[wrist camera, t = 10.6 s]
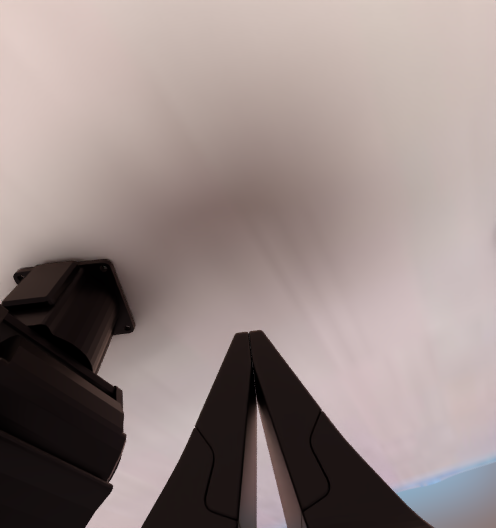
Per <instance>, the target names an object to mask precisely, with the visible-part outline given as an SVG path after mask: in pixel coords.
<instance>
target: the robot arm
mask: <svg viewBox="0 0 496 528" xmlns="http://www.w3.org/2000/svg"><path fill="white" fill-rule="evenodd" d="M102 266H106V267H107V269H104V268H103V267H102ZM21 275H22V276H24V277H25V278H23V277H22V276H21ZM13 277H14V280H15V282H16V283H17V286H16V287H15V288H14V290H13V291H12V292H11V293H10V294H9V295H8V296H7V297H6V298H5V299H4V300H3V301H2V303H1V305H0V528H85V527H86V525H87V524H88V522H89V521H90V519H91V518H92V516H93V514H94V513H95V511H96V510H97V509H98V508H99V506H100V505H101V504H102V503H103V502H104V500H105V499H106V498H107V497H108V495H109V494H110V493H111V491H112V489H113V485H112V484H110V483H109V481H110V480H111V478H112V477H113V475H114V473H115V471H116V469H117V467H118V464H119V462H120V459H121V456H122V452H123V449H124V446H125V443H126V434H125V433H123V421H124V412H123V393H122V390H121V389H120V388H118V387H117V386H112V385H111V384H109V383H108V382H106V381H105V380H104V379H102V378H101V377H99V376H98V375H97V373H98V371H99V368H100V366H101V363H102V361H103V358H104V356H105V353H106V351H107V349H108V346H109V344H110V341H111V339H112V336H113V335H118V334H126V333H131V332H133V331H134V328H135V323H134V320H133V317H132V315H131V312H130V309H129V307H128V304H127V301H126V299H125V296H124V294H123V291H122V288H121V286H120V283H119V280H118V278H117V275H116V272H115V270H114V267H113V265H112V263H111V262H110V261H108V260H104V259H103V260H94V261H85V262H75V261H67V262H59V263H50V264H42V265H37V266H35V267H34V268H25V269H20V270H18V271H17V272H16V273H15V274H14V276H13ZM126 326H129V327H126ZM249 339H250V340H249ZM250 347H251V348H250ZM251 356H252V357H251ZM252 364H253V365H252ZM253 372H254V374H253ZM254 381H255V382H254ZM255 389H256V391H255ZM256 397H257V401H256ZM257 404H258V408H259V413H260V417H261V421H262V425H263V429H264V433H265V437H266V442H267V446H268V450H269V454H270V458H271V462H272V466H273V470H274V475H275V479H276V483H277V487H278V491H279V495H280V499H281V503H282V507H283V512H284V516H285V520H286V524H287V528H434V527H433V526H431V525H430V524H428V523H427V522H426V521H425V520H423V519H422V518H421V517H420V516H418V515H417V514H416V513H415V512H414V511H413V510H412V509H411V508H410V507H408V506H407V505H406V503H405V502H404V501H402V499H401V498H400V497H399V496H398V495H397V494H396V493H395V492H394V491H393V490H392V489H391V488H390V487H389V486H388V485H387V484H386V483H385V482H384V480H383V479H382V478H381V477H380V476H379V475H378V474H377V473H376V472H375V471H374V470H373V469H372V468H371V467H370V466H369V465H368V464H367V463H366V461H365V460H364V459H363V458H362V457H361V456H360V455H359V454H358V453H357V452H356V451H355V450H354V448H353V447H352V446H351V445H350V444H349V443H348V442H347V441H346V440H345V438H344V437H343V436H342V435H341V433H340V432H339V431H338V430H337V428H336V427H335V426H334V425H333V423H332V422H331V421H330V420H329V418H328V417H327V416H326V414H325V413H324V412H323V411H322V409H321V408H320V407H319V405H318V404H317V403H316V401H315V400H314V399H313V397H312V396H311V395H310V393H309V392H308V391H307V389H306V388H305V387H304V385H303V384H302V383H301V381H300V380H299V379H298V377H297V376H296V375H295V373H294V372H293V371H292V369H291V368H290V367H289V365H288V364H287V363H286V361H285V360H284V359H283V357H282V356H281V355H280V353H279V352H278V351H277V350H276V348H275V347H274V346H273V344H272V343H271V342H270V340H269V339H268V338H267V336H266V335H265V334H264V332H263V331H262V330H257V331H250V332H249V333H248V332H240V333H236V334H235V335H234V338H233V340H232V342H231V344H230V347H229V349H228V351H227V354H226V356H225V358H224V361H223V363H222V365H221V367H220V370H219V372H218V374H217V377H216V379H215V381H214V383H213V386H212V388H211V390H210V393H209V395H208V397H207V399H206V402H205V404H204V406H203V409H202V411H201V413H200V415H199V418H198V420H197V422H196V425H195V428H194V429H193V431H192V433H191V436H190V438H189V440H188V443H187V445H186V447H185V449H184V451H183V453H182V455H181V457H180V459H179V461H178V463H177V465H176V467H175V469H174V471H173V472H172V474H171V476H170V478H169V480H168V482H167V483H166V485H165V487H164V489H163V490H162V492H161V494H160V496H159V497H158V499H157V501H156V503H155V504H154V506H153V508H152V510H151V511H150V513H149V515H148V517H147V518H146V520H145V522H144V524H143V525H142V527H141V528H257Z"/></svg>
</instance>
